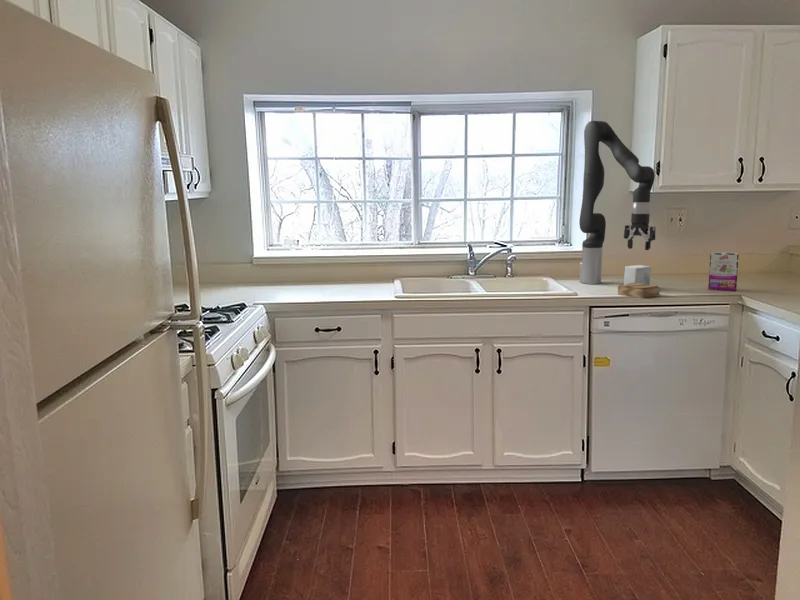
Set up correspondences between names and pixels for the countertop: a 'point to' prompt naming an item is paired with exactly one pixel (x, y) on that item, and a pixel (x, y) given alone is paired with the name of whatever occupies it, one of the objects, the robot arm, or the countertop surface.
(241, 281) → the countertop surface
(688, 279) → the countertop surface
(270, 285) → the countertop surface
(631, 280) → the skincare box
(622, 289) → the oak plinth
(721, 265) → the candy bar box
